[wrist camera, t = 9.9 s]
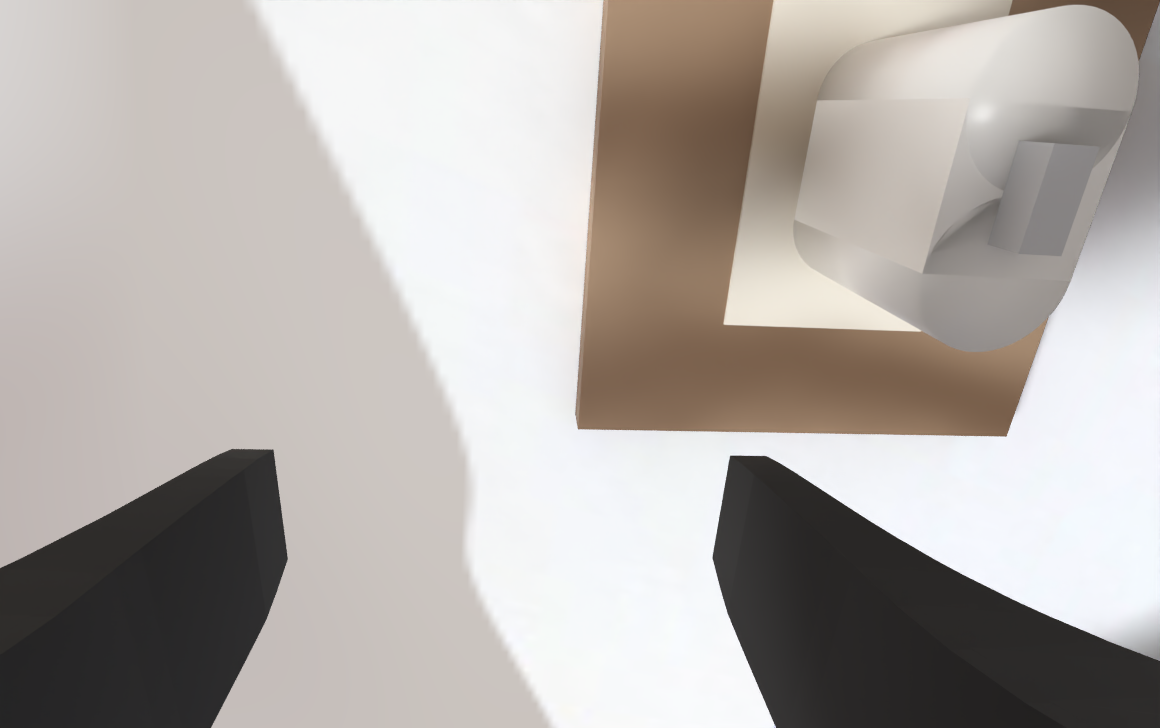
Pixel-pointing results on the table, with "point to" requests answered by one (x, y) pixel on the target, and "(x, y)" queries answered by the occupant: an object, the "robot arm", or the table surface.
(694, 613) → the table surface
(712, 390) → the walnut board
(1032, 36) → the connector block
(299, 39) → the table surface
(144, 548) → the robot arm
